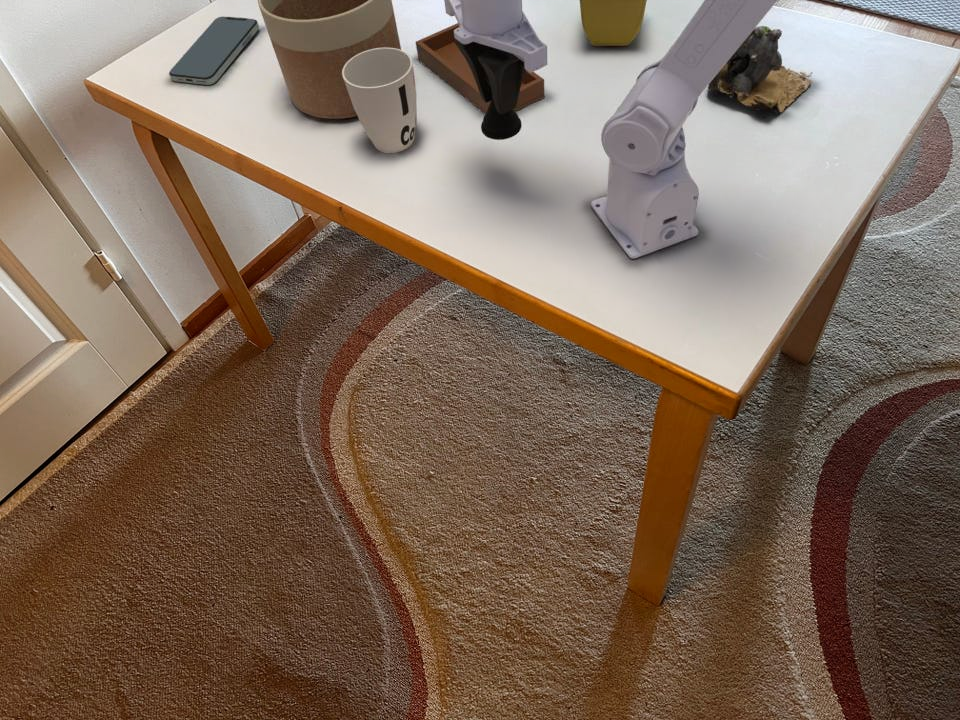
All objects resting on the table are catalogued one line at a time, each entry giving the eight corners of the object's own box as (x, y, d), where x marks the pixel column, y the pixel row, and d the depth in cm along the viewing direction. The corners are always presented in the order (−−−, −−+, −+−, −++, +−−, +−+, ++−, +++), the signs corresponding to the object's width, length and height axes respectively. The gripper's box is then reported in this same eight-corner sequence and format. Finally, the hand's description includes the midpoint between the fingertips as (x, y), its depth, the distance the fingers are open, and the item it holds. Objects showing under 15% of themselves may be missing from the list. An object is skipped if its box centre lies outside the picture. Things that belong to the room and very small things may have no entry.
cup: (416, 162, 87) (401, 89, 79) (353, 159, 88) (332, 86, 80) (432, 121, 91) (420, 48, 83) (372, 119, 93) (354, 46, 85)
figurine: (813, 84, 88) (841, 18, 79) (765, 135, 86) (788, 73, 77) (744, 47, 92) (763, -19, 83) (696, 96, 90) (711, 32, 81)
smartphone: (164, 73, 102) (216, 14, 109) (170, 84, 103) (221, 25, 111) (210, 78, 100) (259, 18, 107) (215, 89, 101) (263, 28, 109)
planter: (418, 55, 101) (400, -47, 90) (390, 125, 92) (367, 21, 80) (312, 54, 103) (282, -45, 92) (275, 122, 94) (237, 20, 83)
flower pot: (581, 20, 102) (582, -46, 95) (643, 19, 101) (649, -48, 93) (577, 55, 97) (578, -12, 90) (643, 54, 96) (649, -14, 88)
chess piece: (529, 123, 78) (525, 35, 70) (504, 145, 76) (497, 57, 68) (498, 110, 80) (490, 23, 72) (473, 131, 78) (462, 44, 70)
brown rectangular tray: (544, 97, 92) (544, 79, 90) (494, 122, 90) (493, 104, 88) (464, 38, 102) (462, 20, 100) (418, 59, 100) (415, 41, 98)
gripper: (410, -41, 67) (431, 88, 78) (498, 18, 60) (508, 152, 71) (472, -66, 69) (484, 63, 80) (565, -12, 62) (565, 123, 72)
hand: (499, 103), depth 75 cm, fingers closed on chess piece, 2 cm apart
